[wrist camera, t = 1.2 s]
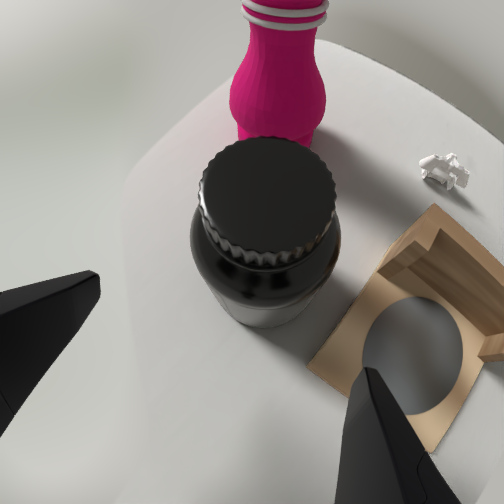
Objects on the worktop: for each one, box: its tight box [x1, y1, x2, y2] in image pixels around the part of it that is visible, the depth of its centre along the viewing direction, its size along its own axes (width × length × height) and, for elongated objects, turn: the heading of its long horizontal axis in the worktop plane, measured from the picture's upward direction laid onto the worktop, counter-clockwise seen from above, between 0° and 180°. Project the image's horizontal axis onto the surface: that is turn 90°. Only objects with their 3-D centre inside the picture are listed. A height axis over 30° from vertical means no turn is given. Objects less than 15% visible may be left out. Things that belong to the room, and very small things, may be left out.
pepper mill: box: [229, 0, 329, 148], centre depth 16 cm, size 7×7×20 cm
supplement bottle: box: [190, 136, 341, 328], centre depth 16 cm, size 7×7×12 cm
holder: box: [306, 203, 504, 453], centre depth 16 cm, size 11×12×7 cm
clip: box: [419, 153, 470, 190], centre depth 23 cm, size 5×2×4 cm, turn 69°
